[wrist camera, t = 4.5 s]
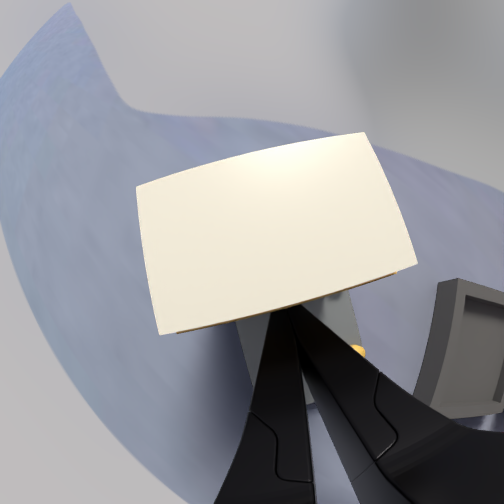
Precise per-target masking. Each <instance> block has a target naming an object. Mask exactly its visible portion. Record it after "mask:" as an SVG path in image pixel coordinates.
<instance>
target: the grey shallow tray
mask: <svg viewBox="0 0 504 504" xmlns="http://www.w3.org/2000/svg"><path fill="white" fill-rule="evenodd" d="M413 396H414V397H415V398H417V399H418V400H420V401H421V402H423V403H425V404H426V405H428V406H430V407H431V408H433V409H434V410H436V411H438V412H439V413H441V414H443V415H444V416H446V417H448V418H449V419H456V418H467V417H476V416H484V415H491V414H497V413H502V412H503V409H504V292H501V291H498V290H495V289H492V288H489V287H485V286H482V285H479V284H476V283H473V282H469V281H466V280H463V279H460V278H456V279H452V280H448V281H443V282H439V283H438V288H437V296H436V302H435V309H434V314H433V320H432V325H431V330H430V335H429V339H428V344H427V348H426V352H425V356H424V360H423V364H422V367H421V371H420V374H419V378H418V381H417V384H416V387H415V391H414V394H413Z"/></svg>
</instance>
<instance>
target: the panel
mask: <svg viewBox="0 0 504 504" xmlns="http://www.w3.org/2000/svg"><path fill="white" fill-rule="evenodd" d="M302 305H303V306H304V307H305V308H306V309H308V310H309V311H310V312H311V313H312V314H313V315H315V316H316V317H317V318H318V319H319V320H320V321H322V322H323V323H324V324H325V325H326V326H328V327H329V328H330V329H331V330H332V331H333V332H335V333H336V334H337V335H338V336H339V337H341V338H342V339H343V340H344V341H345V342H346V343H348V344H349V345H350V346H351V347H352V348H354V349H355V350H356V351H357V352H358V353H359V354H361V355H362V356H363V357H364V358H365V350H364V349H363V348H362V343H361V339H360V335H359V330H358V326H357V322H356V318H355V314H354V310H353V306H352V303H351V299H350V295H349V292H348V290H346V291H343V292H339V293H336V294H333V295H330V296H326V297H323V298H320V299H316V300H313V301H309V302H306V303H303V304H302ZM269 315H270V313H266V314H262V315H258V316H254V317H250V318H246V319H242V320H238V321H235V323H236V327H237V331H238V334H239V338H240V342H241V346H242V350H243V353H244V357H245V361H246V364H247V368H248V372H249V375H250V379H251V383H252V386H253V389H254V385H255V380H256V376H257V371H258V367H259V362H260V358H261V353H262V348H263V344H264V339H265V334H266V329H267V325H268V320H269ZM302 377H303V384H304V392H305V399H306V405H307V404H311V403H314V402H315V401H314V399H313V397H312V394H311V392H310V390H309V388H308V385H307V383H306V381H305V378H304V376H303V374H302Z"/></svg>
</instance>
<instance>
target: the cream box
mask: <svg viewBox="0 0 504 504" xmlns="http://www.w3.org/2000/svg"><path fill="white" fill-rule="evenodd" d="M136 193H137V204H138V214H139V223H140V231H141V239H142V246H143V253H144V259H145V266H146V272H147V277H148V283H149V288H150V294H151V299H152V304H153V309H154V313H155V318H156V322H157V327H158V331H159V335H164V334H169V333H174V332H176V333H177V334H179V333H184V332H189V331H194V330H198V329H203V328H208V327H212V326H217V325H221V324H225V323H230V322H234V321H238V320H242V319H246V318H250V317H254V316H258V315H262V314H266V313H270V312H273V311H277V310H281V309H285V308H288V307H292V306H295V305H299V304H303V303H306V302H309V301H313V300H316V299H320V298H323V297H326V296H330V295H333V294H336V293H339V292H343V291H346V290H349V289H352V288H355V287H358V286H361V285H364V284H367V283H370V282H373V281H376V280H379V279H382V278H385V277H388V276H391V275H394V274H396V273H397V272H396V271H399V270H402V269H405V268H407V267H410V266H413V265H416V264H418V263H417V259H416V256H415V253H414V249H413V246H412V243H411V240H410V237H409V234H408V231H407V229H406V226H405V223H404V220H403V218H402V215H401V212H400V210H399V207H398V205H397V202H396V200H395V197H394V195H393V192H392V190H391V188H390V185H389V183H388V181H387V178H386V176H385V174H384V172H383V169H382V167H381V165H380V163H379V161H378V159H377V157H376V155H375V153H374V151H373V149H372V147H371V145H370V143H369V141H368V139H367V137H366V135H365V133H364V132H362V133H354V134H346V135H340V136H333V137H327V138H320V139H315V140H309V141H303V142H298V143H293V144H288V145H283V146H278V147H273V148H269V149H264V150H260V151H256V152H251V153H247V154H243V155H239V156H235V157H231V158H227V159H224V160H220V161H216V162H212V163H209V164H205V165H202V166H198V167H195V168H192V169H188V170H185V171H182V172H179V173H175V174H172V175H169V176H166V177H163V178H160V179H157V180H154V181H151V182H148V183H145V184H143V185H140V186H137V187H136Z"/></svg>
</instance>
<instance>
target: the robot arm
mask: <svg viewBox="0 0 504 504" xmlns="http://www.w3.org/2000/svg"><path fill="white" fill-rule="evenodd" d="M302 374H303V376H304V378H305V381H306V383H307V385H308V388H309V390H310V392H311V394H312V397H313V399H314V401H315V403H316V406H317V408H318V410H319V413H320V415H321V417H322V419H323V422H324V424H325V426H326V428H327V431H328V433H329V435H330V437H331V440H332V442H333V444H334V446H335V449H336V451H337V453H338V455H339V458H340V460H341V462H342V464H343V467H344V469H345V471H346V473H347V476H348V478H349V480H350V482H352V483H351V485H352V487H353V489H354V491H355V494H356V496H357V498H358V500H359V502H360V504H504V432H494V431H485V430H477V429H472V428H468V427H466V426H463V425H461V424H458V423H456V422H455V421H453V420H451V419H449V418H448V417H446V416H444V415H443V414H441V413H439V412H438V411H436V410H434V409H433V408H431V407H430V406H428V405H426V404H425V403H423V402H421V401H420V400H418V399H417V398H415V397H414V396H412V395H411V394H409V393H408V392H406V391H405V390H403V389H402V388H401V387H400V386H398V385H397V384H396V383H394V382H393V381H392V380H391V379H389V378H388V377H387V376H386V375H385V374H383V373H382V372H379V369H377V368H376V367H375V366H374V365H373V364H371V363H370V362H369V361H368V360H367V359H365V358H364V357H363V356H362V355H361V354H359V353H358V352H357V351H356V350H355V349H354V348H352V347H351V346H350V345H349V344H348V343H346V342H345V341H344V340H343V339H342V338H341V337H339V336H338V335H337V334H336V333H335V332H333V331H332V330H331V329H330V328H329V327H328V326H326V325H325V324H324V323H323V322H322V321H320V320H319V319H318V318H317V317H316V316H315V315H313V314H312V313H311V312H310V311H309V310H308V309H306V308H305V307H304V306H303V305H302V304H299V305H295V306H292V307H288V308H285V309H281V310H277V311H273V312H270V315H269V320H268V325H267V329H266V334H265V339H264V344H263V348H262V353H261V358H260V362H259V367H258V371H257V376H256V380H255V385H254V389H253V393H252V398H251V402H250V406H249V411H250V412H248V414H247V418H246V422H245V426H244V430H243V433H242V437H241V440H240V443H239V446H238V449H237V451H236V454H235V457H234V459H233V462H232V464H231V466H230V469H229V471H228V473H227V476H226V478H225V480H224V482H223V485H222V487H221V489H220V491H219V493H218V496H217V498H216V500H215V502H214V504H317V496H316V486H315V476H314V466H313V457H312V448H311V439H310V431H309V422H308V414H307V407H306V399H305V392H304V384H303V377H302Z"/></svg>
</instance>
